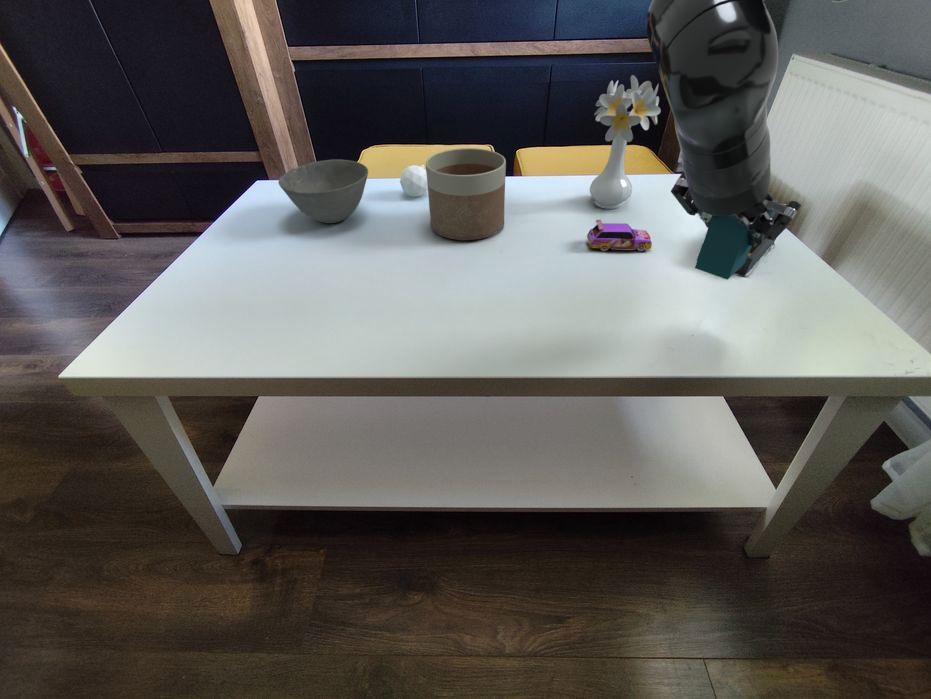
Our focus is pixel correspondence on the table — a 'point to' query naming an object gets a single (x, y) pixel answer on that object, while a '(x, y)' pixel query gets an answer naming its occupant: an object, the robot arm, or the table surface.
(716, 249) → the teal block
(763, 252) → the dark grey open box
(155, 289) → the table surface
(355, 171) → the bowl
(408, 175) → the ornament
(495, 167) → the planter
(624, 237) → the toy car
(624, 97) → the flower vase
